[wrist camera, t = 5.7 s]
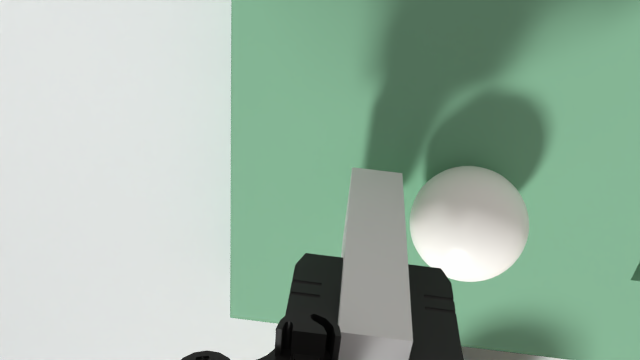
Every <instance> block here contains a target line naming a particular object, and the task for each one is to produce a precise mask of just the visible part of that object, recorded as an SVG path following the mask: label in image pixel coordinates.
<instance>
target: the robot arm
mask: <svg viewBox="0 0 640 360" xmlns="http://www.w3.org/2000/svg"><path fill="white" fill-rule="evenodd" d="M453 299H454V297H453V291H452V285H451V282H450V280H449V279H448V278H447V276H446V275H445V273H444V272H443V270H442V269H441V268H434V267H426V266H418V265H410V264H408V254H407V239H406V223H405V207H404V192H403V176H402V173H396V172H388V171H379V170H371V169H362V168H354V167H352V172H351V180H350V188H349V195H348V203H347V211H346V218H345V226H344V234H343V242H342V253H341V257H334V256H326V255H318V254H310V253H305V254H304V255H303V257H302V258H301V259H300V260H299V261H298V262H297V263H296V264H295V268H294V273H293V278H292V283H291V288H290V294H289V299H288V304H287V309H286V314H285V316H284V317H283V318H282V319H281V320H280V322H279V324H278V326H277V328H276V341H275V349H274V350H273V351H272V352H270V353H269V354H268V355H266V356H264V357H262V358H260V359H258V360H463V355H462V348H461V342H460V336H459V329H458V323H457V316H456V314H455V311H456V310H455V304H454V301H453ZM181 360H230V359H229V358H228V357H226V356H224V355H223V354H221V353H218V352H212V351H201V352H195V353H192V354H190V355H188V356H186V357H184V358H183V359H181Z"/></svg>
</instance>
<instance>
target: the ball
mask: <svg viewBox="0 0 640 360" xmlns="http://www.w3.org/2000/svg"><path fill="white" fill-rule="evenodd" d="M409 222H410V233H411V238H412V241H413V244H414V246H415V248H416V250H417V252H418V253H419V255H420V257H421V258H422V259H423V260H424V261H425V263H427V264H428V265H429V266H430V267H434V268H441V269H442V270H443V272H444V273H445V275H446V276H447V277H448V278H450V279H453V280H458V281H464V282H477V281H484V280H487V279H491V278H493V277H495V276H498V275H500V274H501V273H503V272H504V271H506V270H507V269H508V268H510V267H511V266H512V265H513V264H514V263H515V262H516V260H517V259H518V258H519V256H520V255H521V253H522V252H523V250H524V247H525V245H526V242H527V239H528V234H529V216H528V212H527V208H526V205H525V203H524V200H523V198H522V196H521V195H520V193H519V192H518V190H517V189H516V188H515V187H514V186H513V185H512V184H511V183H510V182H509V181H508V180H507V179H506V178H504V177H503V176H501V175H500V174H498V173H496V172H494V171H492V170H489V169H486V168H482V167H477V166H459V167H454V168H451V169H447V170H445V171H443V172H441V173H439V174H437V175H436V176H434V177H432V178H431V179H430V180H429V181H428V182H427V183H426V184H425V185H424V186H423V187H422V188H421V190H420V191H419V192H418V194H417V196H416V198H415V200H414V202H413V205H412V208H411V213H410V221H409Z"/></svg>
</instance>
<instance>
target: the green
mask: <svg viewBox="0 0 640 360" xmlns="http://www.w3.org/2000/svg"><path fill="white" fill-rule="evenodd" d="M459 166H477V167H482V168H486V169H489V170H492V171H494V172H496V173H498V174H500V175H501V176H503V177H504V178H506V179H507V180H508V181H509V182H510V183H511V184H512V185H513V186H514V187H515V188H516V189H517V190H518V192H519V193H520V195H521V196H522V198H523V200H524V203H525V205H526V208H527V212H528V216H529V234H528V239H527V242H526V245H525V247H524V250H523V252H522V253H521V255H520V256H519V258H518V259H517V260H516V262H515V263H514V264H513V265H512V266H511V267H510V268H508V269H507V270H506V271H504V272H503V273H501V274H500V275H498V276H495V277H493V278H491V279H487V280H484V281H477V282H464V281H458V280H453V279H450V278H448V277H447V278H448V279H449V280H450V282H451V285H452V291H453V297H454V299H453V301H454V304H455V310H456V311H455V314H456V316H457V323H458V329H459V336H460V342H461V346H464V347H472V348H480V349H488V350H496V351H504V352H512V353H520V354H528V355H537V356H545V357H553V358H561V359H569V360H640V0H232V13H231V278H230V318H238V319H246V320H254V321H262V322H270V323H278V324H279V322H280V320H281V319H282V318H283V317H284V316H285V314H286V309H287V304H288V299H289V294H290V288H291V283H292V278H293V273H294V268H295V264H296V263H297V262H298V261H299V260H300V259H301V258H302V257H303V255H304V254H305V253H310V254H318V255H326V256H334V257H341V253H342V242H343V234H344V226H345V218H346V211H347V203H348V195H349V188H350V180H351V172H352V167H354V168H362V169H371V170H379V171H388V172H396V173H402V176H403V192H404V207H405V223H406V239H407V254H408V264H410V265H418V266H426V267H430V266H429V265H428V264H427V263H425V261H424V260H423V259H422V258H421V257H420V255H419V253H418V252H417V250H416V248H415V246H414V244H413V241H412V238H411V233H410V222H409V221H410V213H411V208H412V205H413V202H414V200H415V198H416V196H417V194H418V192H419V191H420V190H421V188H422V187H423V186H424V185H425V184H426V183H427V182H428V181H429V180H430V179H431V178H432V177H434V176H436V175H437V174H439V173H441V172H443V171H445V170H447V169H451V168H454V167H459Z"/></svg>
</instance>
